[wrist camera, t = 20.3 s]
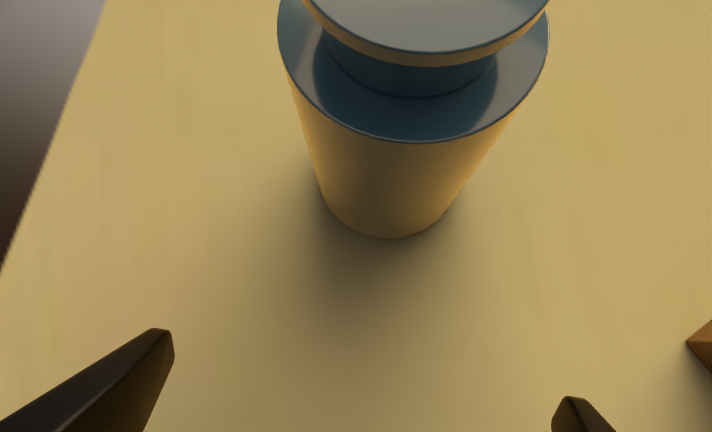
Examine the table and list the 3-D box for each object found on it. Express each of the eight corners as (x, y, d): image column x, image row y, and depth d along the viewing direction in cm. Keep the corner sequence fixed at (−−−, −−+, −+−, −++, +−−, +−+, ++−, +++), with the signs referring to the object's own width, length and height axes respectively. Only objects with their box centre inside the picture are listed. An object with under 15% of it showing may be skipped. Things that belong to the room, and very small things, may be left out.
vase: (450, 249, 17) (604, 110, 6) (306, 227, 17) (215, 61, 6) (462, 118, 18) (602, -173, 8) (330, 101, 19) (290, -201, 8)
